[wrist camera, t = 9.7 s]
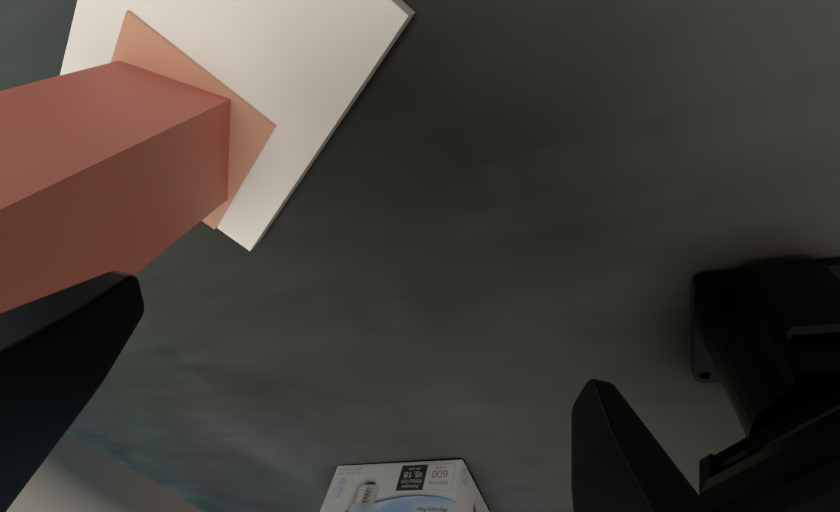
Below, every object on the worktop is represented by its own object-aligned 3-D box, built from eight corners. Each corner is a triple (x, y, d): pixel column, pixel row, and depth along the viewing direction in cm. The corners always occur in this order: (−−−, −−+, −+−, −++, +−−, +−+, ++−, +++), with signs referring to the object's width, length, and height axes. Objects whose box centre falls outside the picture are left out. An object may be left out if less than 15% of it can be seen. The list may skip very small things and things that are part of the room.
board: (157, -222, 15) (128, -236, 14) (415, 12, 18) (407, 16, 17) (72, 104, 23) (48, 112, 22) (261, 239, 25) (247, 253, 24)
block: (230, 98, 20) (-77, 246, 10) (227, 199, 22) (-13, 393, 13) (119, 60, 20) (-299, 167, 10) (130, 165, 22) (-186, 331, 13)
